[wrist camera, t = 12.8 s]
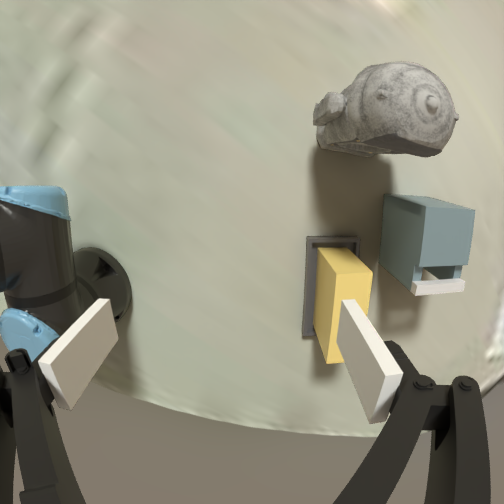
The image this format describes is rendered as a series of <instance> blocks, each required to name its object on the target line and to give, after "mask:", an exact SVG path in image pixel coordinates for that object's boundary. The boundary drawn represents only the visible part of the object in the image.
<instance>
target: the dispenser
mask: <svg viewBox="0 0 504 504" xmlns="http://www.w3.org/2000/svg"><path fill="white" fill-rule="evenodd" d="M474 217H475V210H473V209H470V208H466V207H463V206H459V205H456V204H452V203H449V202H445V201H441V200H437V199H434V198H430V197H421V196H407V195H391V194H384V204H383V220H382V233H381V244H380V254H379V264H380V265H381V266H383V267H384V268H385V269H386V270H387V271H388V272H389V273H391V274H392V275H393V276H394V277H395V278H396V279H397V280H398V281H400V282H401V283H402V284H403V285H404V286H405V287H406V288H407V289H408V290H409V291H411V292H412V293H413V294H414V295H415V296H419V295H430V294H441V293H451V292H461V291H464V286H465V281H464V280H462V279H461V278H460V276H461V271H462V266H463V265H468V260H469V254H470V248H471V241H472V234H473V226H474ZM423 268H424V269H426V270H427V271H428V272H430V273H431V274H433V275H434V276H435V277H437V278H438V279H439V280H427V281H421V277H422V271H423Z"/></svg>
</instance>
